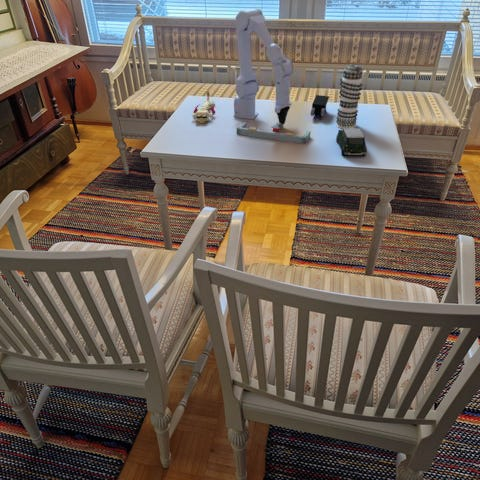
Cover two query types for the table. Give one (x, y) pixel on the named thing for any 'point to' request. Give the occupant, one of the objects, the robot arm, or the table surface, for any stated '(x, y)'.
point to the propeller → (276, 127)
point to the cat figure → (204, 110)
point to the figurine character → (319, 106)
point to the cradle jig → (272, 134)
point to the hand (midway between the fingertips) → (282, 123)
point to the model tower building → (349, 96)
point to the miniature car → (351, 141)
